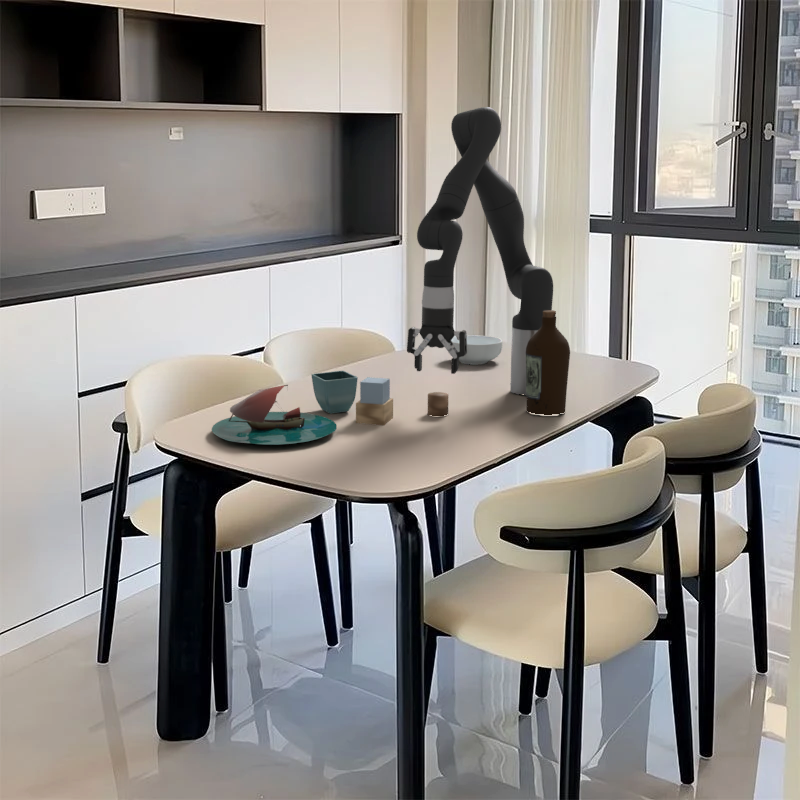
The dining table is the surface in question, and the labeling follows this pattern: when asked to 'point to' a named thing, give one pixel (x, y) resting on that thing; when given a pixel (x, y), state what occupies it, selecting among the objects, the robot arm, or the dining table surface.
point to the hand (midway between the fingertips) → (436, 372)
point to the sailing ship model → (270, 422)
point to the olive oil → (547, 368)
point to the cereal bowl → (479, 349)
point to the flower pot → (334, 390)
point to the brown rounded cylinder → (437, 404)
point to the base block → (374, 412)
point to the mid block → (375, 390)
